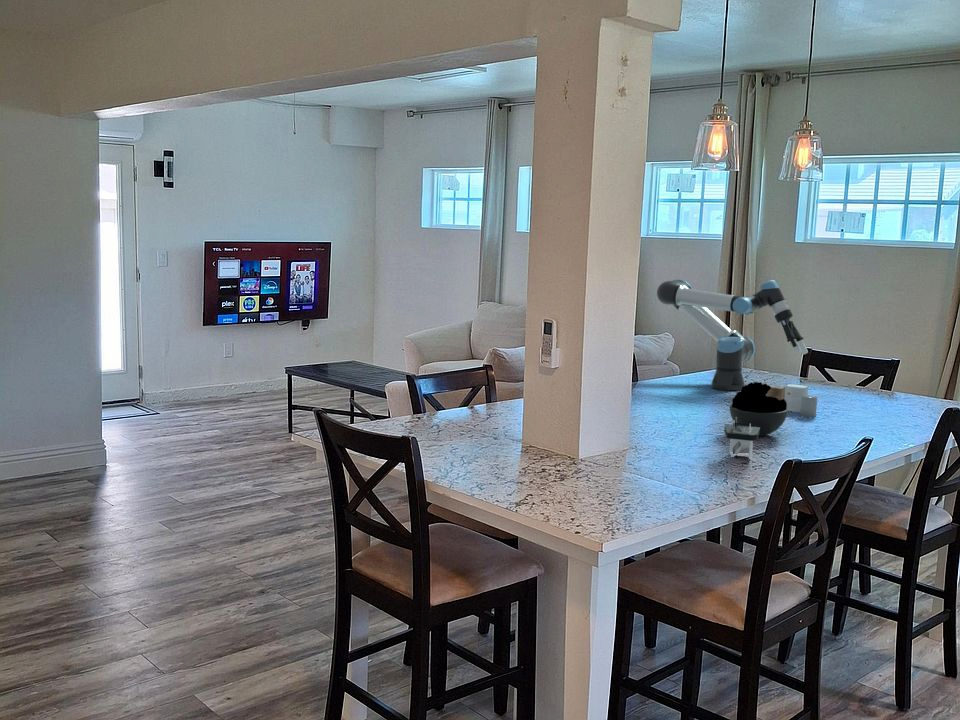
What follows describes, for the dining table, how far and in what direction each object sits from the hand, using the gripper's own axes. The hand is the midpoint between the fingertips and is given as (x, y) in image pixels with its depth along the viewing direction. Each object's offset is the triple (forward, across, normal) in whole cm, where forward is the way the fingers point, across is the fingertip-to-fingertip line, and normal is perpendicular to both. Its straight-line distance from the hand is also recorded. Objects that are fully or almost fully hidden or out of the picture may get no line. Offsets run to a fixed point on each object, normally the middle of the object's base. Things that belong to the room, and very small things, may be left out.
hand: (802, 353), depth 411 cm
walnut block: (+19, -36, +13) cm, 43 cm away
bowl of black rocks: (+29, -96, +10) cm, 101 cm away
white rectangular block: (+29, -52, -1) cm, 59 cm away
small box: (+25, -44, +5) cm, 50 cm away
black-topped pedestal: (+36, -135, +8) cm, 140 cm away
